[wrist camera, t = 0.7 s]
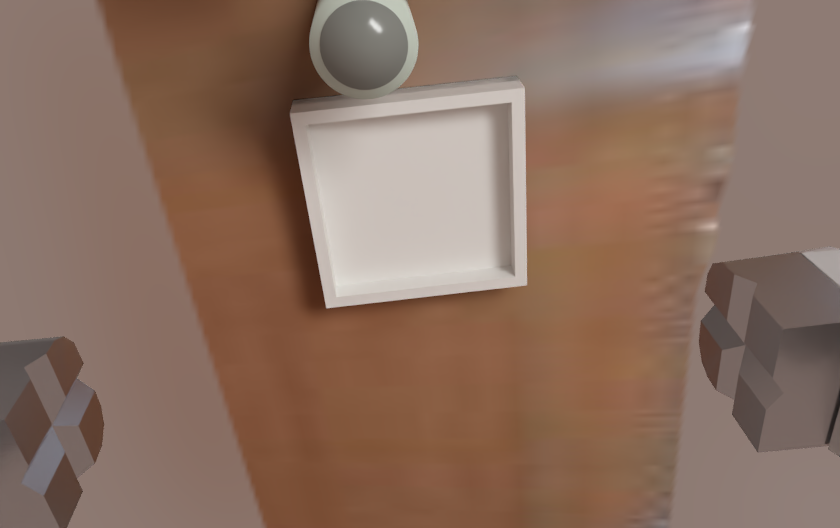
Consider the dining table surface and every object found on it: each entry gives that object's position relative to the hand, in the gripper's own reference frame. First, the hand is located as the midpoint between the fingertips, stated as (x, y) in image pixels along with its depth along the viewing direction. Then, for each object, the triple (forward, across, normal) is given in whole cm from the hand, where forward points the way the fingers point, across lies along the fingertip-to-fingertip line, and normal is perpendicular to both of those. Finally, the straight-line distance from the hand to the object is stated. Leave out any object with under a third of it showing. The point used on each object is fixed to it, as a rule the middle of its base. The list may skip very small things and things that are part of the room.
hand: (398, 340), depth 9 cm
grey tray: (+36, -1, +14) cm, 39 cm away
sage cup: (+36, +1, +2) cm, 36 cm away
